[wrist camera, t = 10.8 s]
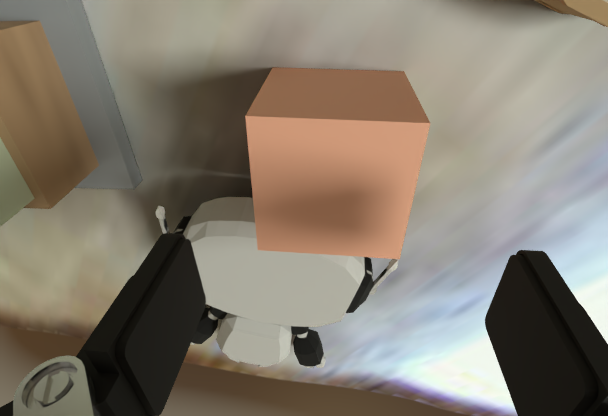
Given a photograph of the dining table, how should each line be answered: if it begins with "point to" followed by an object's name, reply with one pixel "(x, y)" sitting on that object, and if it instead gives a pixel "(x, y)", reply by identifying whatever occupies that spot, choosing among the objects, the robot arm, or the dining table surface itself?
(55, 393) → the robot arm
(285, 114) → the terracotta cube
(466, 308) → the dining table surface
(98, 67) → the build board
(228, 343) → the robot toy
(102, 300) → the dining table surface
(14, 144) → the walnut block
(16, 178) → the sage cube
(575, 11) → the alarm clock
